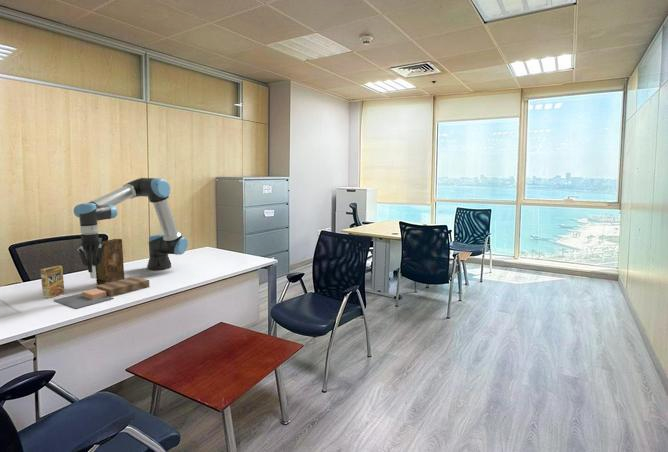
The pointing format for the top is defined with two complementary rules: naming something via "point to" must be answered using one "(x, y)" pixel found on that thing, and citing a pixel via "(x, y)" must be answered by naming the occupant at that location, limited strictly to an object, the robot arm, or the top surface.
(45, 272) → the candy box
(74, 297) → the mat
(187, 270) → the top surface
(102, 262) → the book
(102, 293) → the block
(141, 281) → the tan panel
